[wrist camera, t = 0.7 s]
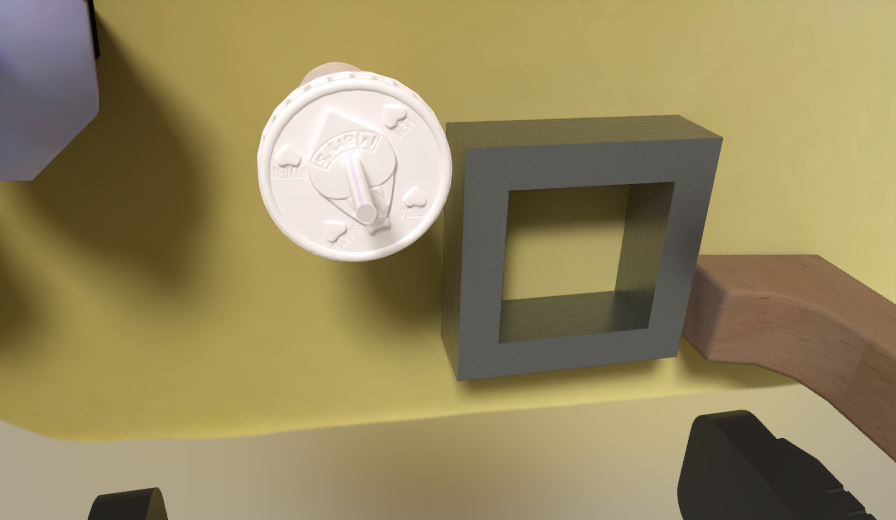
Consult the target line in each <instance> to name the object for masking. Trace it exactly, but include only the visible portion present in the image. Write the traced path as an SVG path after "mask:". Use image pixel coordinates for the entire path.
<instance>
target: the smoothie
mask: <svg viewBox="0 0 896 520" xmlns="http://www.w3.org/2000/svg"><path fill="white" fill-rule="evenodd" d="M257 163H258V180H259V186H260V191H261V195H262V198H263V201H264V204H265V206H266V208H267V210H268V212H269V214H270V216H271V217H272V219H273V220H274V222H275V223H276V225H277V226H278V227H279V228H280V229H281V231H282V232H283V233H284V234H285V235H286V236H287V237H289V238H290V239H291V240H292V241H293V242H295V243H296V244H297V245H299V246H301V247H302V248H304V249H306V250H308V251H310V252H312V253H314V254H316V255H319V256H321V257H325V258H328V259H333V260H338V261H347V262H360V261H369V260H375V259H379V258H383V257H386V256H389V255H392V254H394V253H396V252H398V251H400V250H402V249H404V248H406V247H408V246H409V245H410V244H412V243H413V242H415V241H416V240H417V239H418V238H420V237H421V236H422V235H423V234H424V233H425V232H426V231H427V230H428V229H429V228H430V226H431V225H432V224H433V223H434V221H435V220H436V219H437V217H438V216H439V214H440V212H441V210H442V208H443V206H444V204H445V202H446V199H447V196H448V193H449V189H450V185H451V177H452V160H451V153H450V148H449V145H448V141H447V138H446V136H445V134H444V131H443V129H442V127H441V125H440V123H439V121H438V119H437V117H436V115H435V113H434V111H433V110H432V109H431V108H430V107H429V106H428V105H427V104H426V103H425V102H424V100H423V99H422V98H421V97H420V96H419V95H418V94H417V93H416V92H414V91H413V90H411V89H409V88H408V87H406V86H405V85H403V84H401V83H400V82H398V81H397V80H395V79H392V78H389V77H385V76H382V75H379V74H375V73H372V72H364V71H362V70H360V69H359V68H357V67H355V66H353V65H350V64H346V63H340V62H332V63H326V64H323V65H320V66H318V67H316V68H315V69H313V70H312V71H310V72H309V73H308V74H307V75H306V76H305V77H304V79H303V80H302V82H301V84H300V85H299V87H298V88H297V89H296V90H294V91H293V92H292V93H291V94H290V95H289V96H288V97H287V98H286V99H285V100H284V101H283V102H282V103H281V104H280V105H279V106H278V107H277V108H276V109H275V110H274V112H273V114H272V116H271V117H270V119H269V121H268V123H267V125H266V126H265V128H264V130H263V132H262V137H261V141H260V145H259V150H258V154H257Z"/></svg>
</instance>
